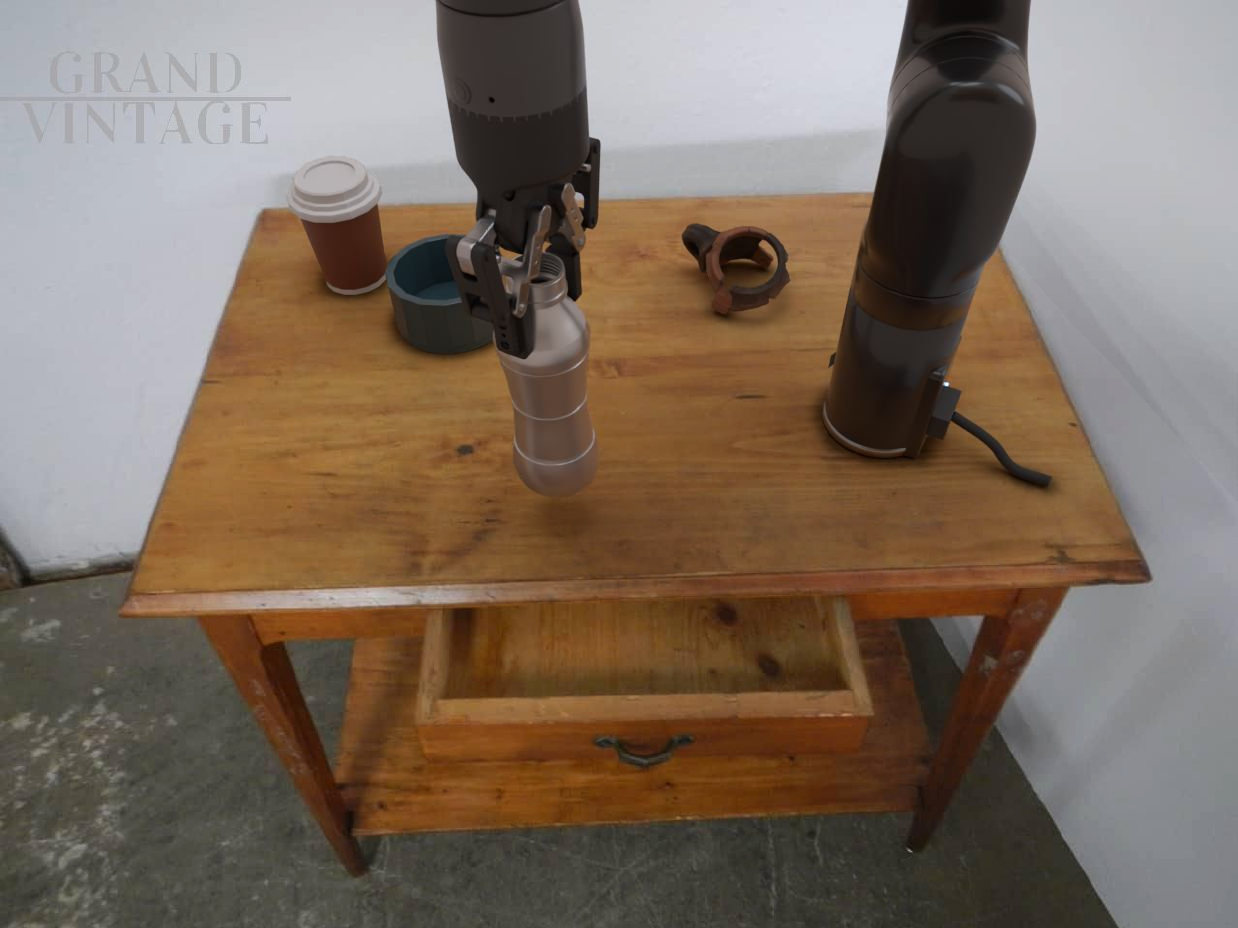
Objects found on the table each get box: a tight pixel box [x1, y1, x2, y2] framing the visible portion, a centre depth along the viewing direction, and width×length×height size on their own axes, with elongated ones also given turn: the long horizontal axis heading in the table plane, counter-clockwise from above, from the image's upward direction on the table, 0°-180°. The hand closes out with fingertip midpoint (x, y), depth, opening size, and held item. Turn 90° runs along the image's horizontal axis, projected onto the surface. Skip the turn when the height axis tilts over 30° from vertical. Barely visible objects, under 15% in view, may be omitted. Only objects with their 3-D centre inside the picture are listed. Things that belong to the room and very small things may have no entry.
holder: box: [385, 233, 507, 355], centre depth 92 cm, size 11×11×6 cm
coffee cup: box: [285, 155, 388, 296], centre depth 94 cm, size 9×9×12 cm
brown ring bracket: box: [681, 222, 791, 315], centre depth 95 cm, size 12×10×8 cm
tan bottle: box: [492, 251, 601, 499], centre depth 66 cm, size 6×7×20 cm
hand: (542, 323), depth 62 cm, fingers closed on tan bottle, 6 cm apart
